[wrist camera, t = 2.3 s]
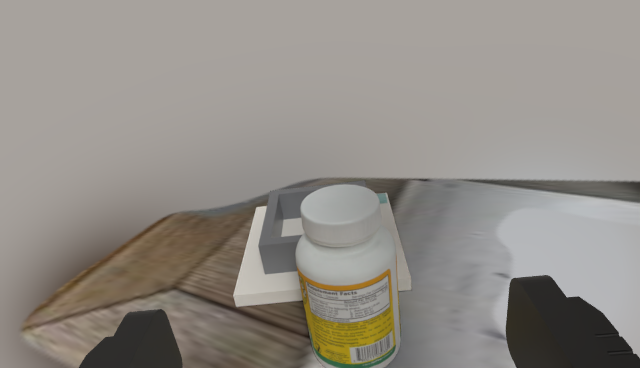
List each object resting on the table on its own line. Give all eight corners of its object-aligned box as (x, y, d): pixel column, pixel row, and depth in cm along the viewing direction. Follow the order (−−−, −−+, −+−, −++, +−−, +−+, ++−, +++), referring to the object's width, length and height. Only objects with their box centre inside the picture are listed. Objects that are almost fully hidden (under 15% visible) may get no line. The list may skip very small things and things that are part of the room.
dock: (387, 202, 40) (385, 167, 39) (411, 289, 29) (409, 247, 28) (258, 216, 41) (251, 183, 39) (236, 306, 30) (224, 266, 29)
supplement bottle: (382, 393, 23) (368, 241, 19) (295, 362, 25) (264, 222, 21) (413, 321, 27) (407, 183, 23) (335, 301, 29) (317, 173, 25)
